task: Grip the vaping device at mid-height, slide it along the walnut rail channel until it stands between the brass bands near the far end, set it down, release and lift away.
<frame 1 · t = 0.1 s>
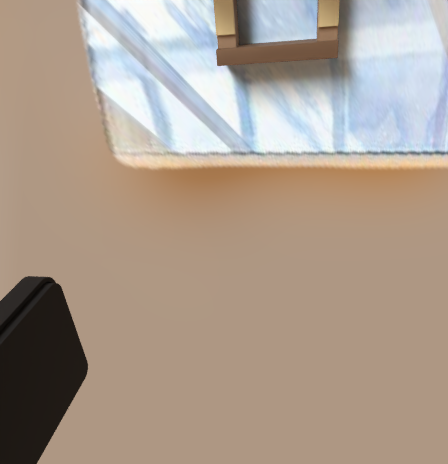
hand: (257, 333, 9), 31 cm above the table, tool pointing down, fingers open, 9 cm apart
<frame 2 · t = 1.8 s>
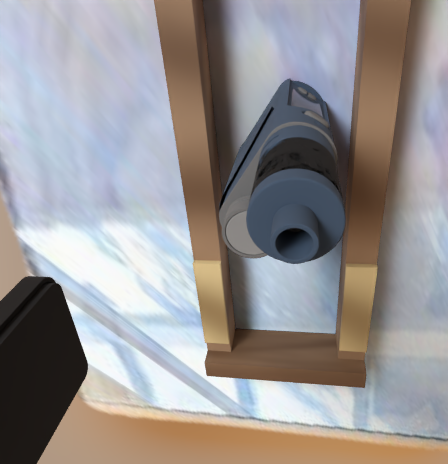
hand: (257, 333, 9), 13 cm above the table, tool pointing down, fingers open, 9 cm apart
vaping device: (281, 127, 20), resting in rail channel
rail channel: (281, 167, 21), on the table
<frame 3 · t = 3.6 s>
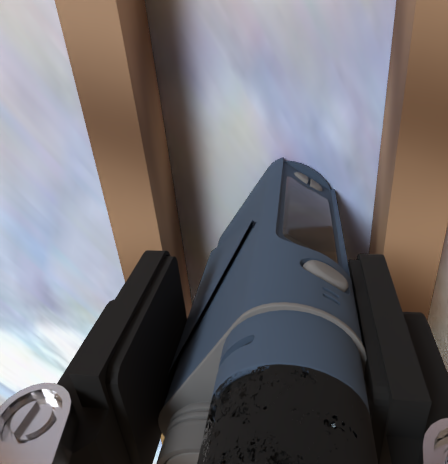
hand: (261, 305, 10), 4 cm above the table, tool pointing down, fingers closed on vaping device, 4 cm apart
vaping device: (271, 219, 14), resting in rail channel, touching gripper
rail channel: (273, 271, 15), on the table
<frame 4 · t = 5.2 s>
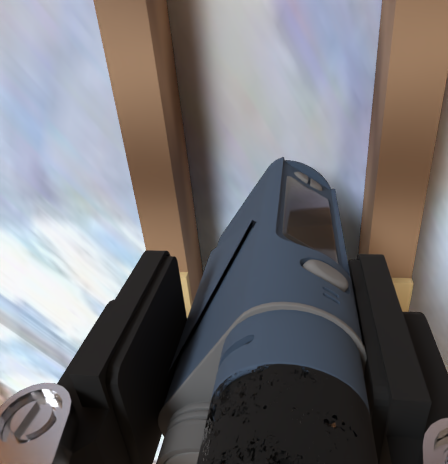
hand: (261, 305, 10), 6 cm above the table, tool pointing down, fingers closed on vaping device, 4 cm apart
vaping device: (271, 219, 14), point 2 cm above the table, touching gripper
rail channel: (273, 138, 14), on the table
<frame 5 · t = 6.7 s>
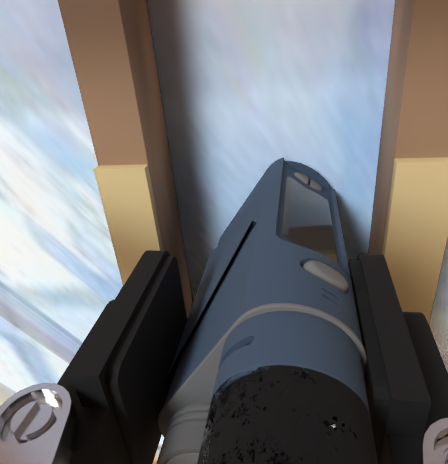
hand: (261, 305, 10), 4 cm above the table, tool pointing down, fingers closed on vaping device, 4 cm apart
vaping device: (271, 219, 14), resting in rail channel, touching gripper
when the fingers open (4 cm above the table, at t = 7.2 s): vaping device stays where it is, resting in rail channel.
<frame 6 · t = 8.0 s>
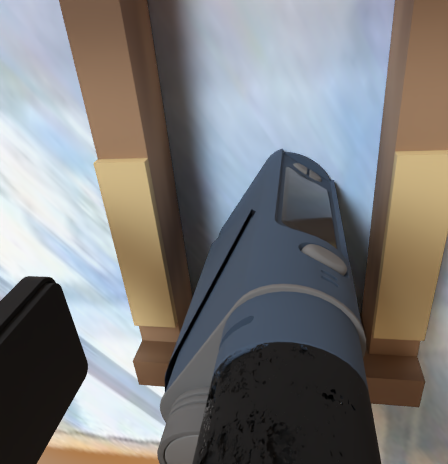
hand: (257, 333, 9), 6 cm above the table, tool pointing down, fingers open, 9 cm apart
vaping device: (271, 211, 14), resting in rail channel
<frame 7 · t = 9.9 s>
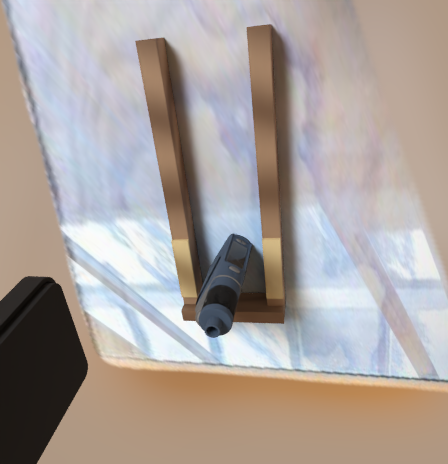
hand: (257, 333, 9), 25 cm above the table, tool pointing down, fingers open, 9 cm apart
vaping device: (232, 254, 38), resting in rail channel
rail channel: (223, 181, 35), on the table
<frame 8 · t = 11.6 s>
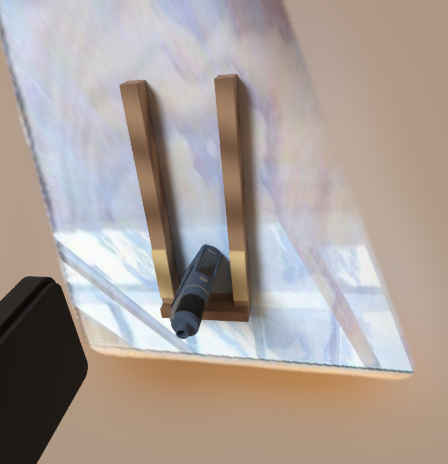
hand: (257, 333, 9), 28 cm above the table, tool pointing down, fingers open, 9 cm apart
vaping device: (204, 261, 44), resting in rail channel
rail channel: (196, 200, 40), on the table
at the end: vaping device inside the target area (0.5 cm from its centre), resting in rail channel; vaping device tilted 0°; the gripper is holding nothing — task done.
